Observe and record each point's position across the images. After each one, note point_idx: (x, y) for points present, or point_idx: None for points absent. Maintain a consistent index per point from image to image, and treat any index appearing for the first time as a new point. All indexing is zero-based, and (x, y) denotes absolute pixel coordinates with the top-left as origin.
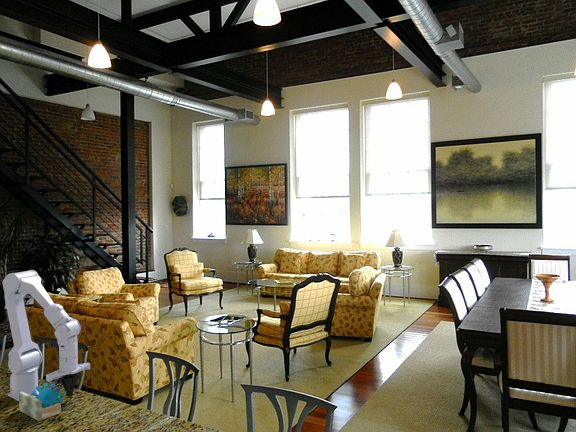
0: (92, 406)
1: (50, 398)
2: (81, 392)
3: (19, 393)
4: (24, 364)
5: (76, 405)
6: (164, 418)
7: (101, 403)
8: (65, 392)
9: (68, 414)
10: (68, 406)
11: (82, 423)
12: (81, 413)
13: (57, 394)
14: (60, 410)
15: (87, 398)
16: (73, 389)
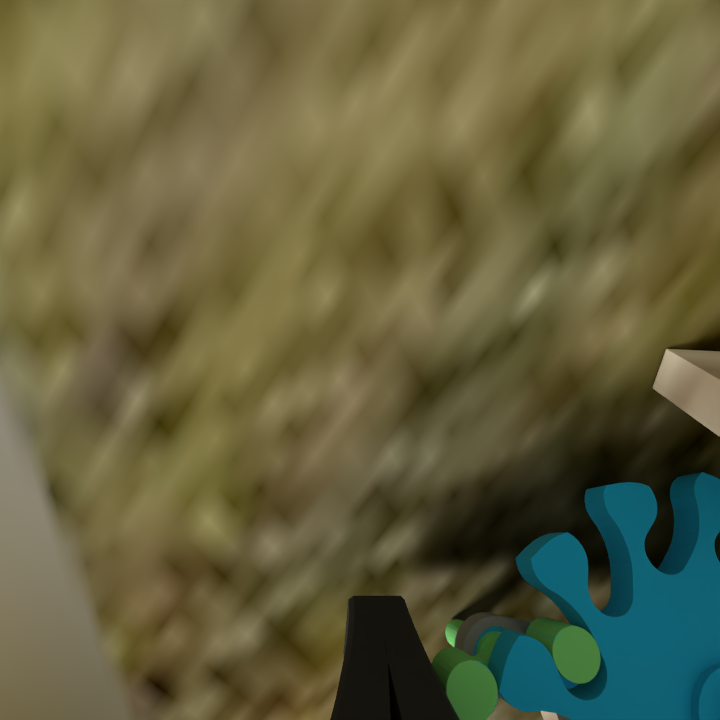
0: (287, 122)
1: (702, 667)
2: (133, 654)
3: None
4: None
5: (402, 387)
6: None
7: (105, 84)
8: (462, 688)
9: (678, 203)
10: (475, 444)
11: None
12: (581, 22)
13: (594, 699)
14: (698, 364)
15: (172, 464)
16: (350, 684)
